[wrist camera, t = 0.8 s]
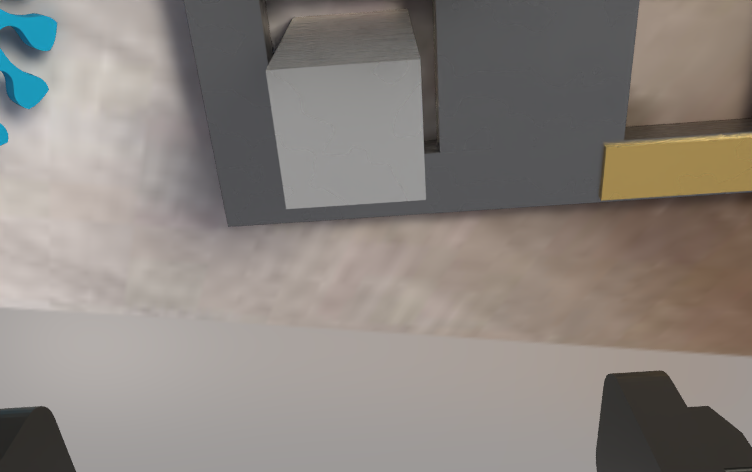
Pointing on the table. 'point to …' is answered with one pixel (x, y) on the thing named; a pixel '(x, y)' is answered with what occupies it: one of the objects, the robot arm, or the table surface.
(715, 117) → the table surface
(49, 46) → the gear
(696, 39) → the table surface
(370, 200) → the steel block
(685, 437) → the robot arm
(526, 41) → the fixture plate
